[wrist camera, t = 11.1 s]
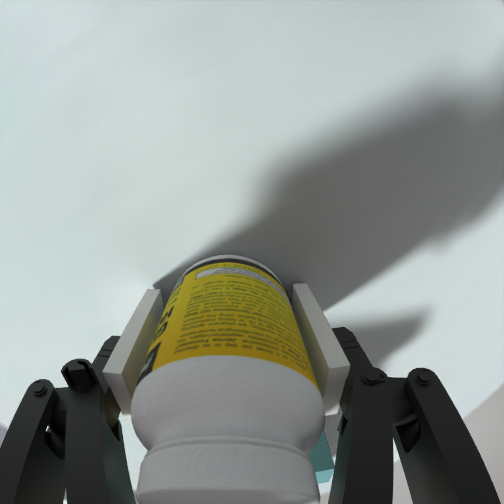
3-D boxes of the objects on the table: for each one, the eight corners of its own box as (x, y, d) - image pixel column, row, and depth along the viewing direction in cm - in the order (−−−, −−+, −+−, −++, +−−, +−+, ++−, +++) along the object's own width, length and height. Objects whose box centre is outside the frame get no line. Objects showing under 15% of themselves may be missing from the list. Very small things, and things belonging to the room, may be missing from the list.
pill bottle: (166, 250, 14) (58, 444, 3) (290, 250, 14) (392, 448, 4) (178, 349, 16) (144, 525, 5) (282, 348, 16) (322, 525, 6)
